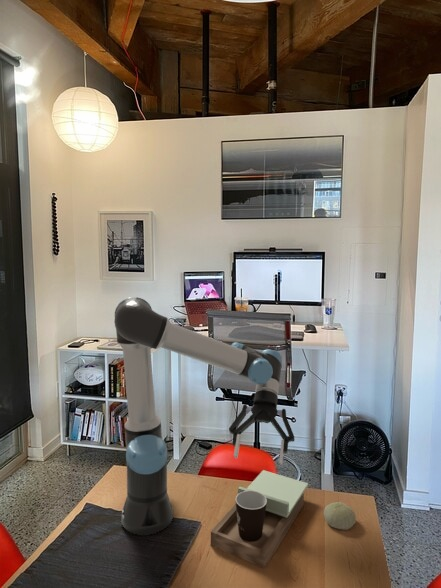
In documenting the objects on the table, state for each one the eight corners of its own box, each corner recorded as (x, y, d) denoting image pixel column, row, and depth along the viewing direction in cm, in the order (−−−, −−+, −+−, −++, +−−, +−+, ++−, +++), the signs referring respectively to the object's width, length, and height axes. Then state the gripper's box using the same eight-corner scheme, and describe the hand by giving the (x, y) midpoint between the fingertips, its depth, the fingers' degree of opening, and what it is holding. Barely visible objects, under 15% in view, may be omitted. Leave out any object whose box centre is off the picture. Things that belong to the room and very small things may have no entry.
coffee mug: (264, 546, 110) (265, 511, 109) (232, 541, 111) (232, 506, 110) (268, 519, 121) (269, 486, 120) (239, 515, 123) (239, 483, 122)
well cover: (237, 500, 126) (238, 488, 125) (263, 472, 142) (263, 461, 142) (287, 517, 118) (287, 504, 118) (308, 485, 134) (308, 473, 134)
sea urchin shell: (321, 523, 120) (324, 494, 124) (323, 529, 125) (325, 501, 130) (355, 531, 116) (356, 500, 121) (355, 536, 122) (356, 507, 127)
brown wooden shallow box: (210, 545, 113) (210, 531, 112) (257, 490, 139) (257, 479, 138) (264, 568, 105) (265, 553, 105) (303, 505, 131) (303, 493, 130)
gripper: (305, 403, 136) (300, 470, 123) (231, 395, 142) (219, 458, 129) (305, 393, 130) (300, 461, 118) (227, 385, 137) (215, 450, 124)
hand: (257, 460), depth 123 cm, fingers open, 13 cm apart
